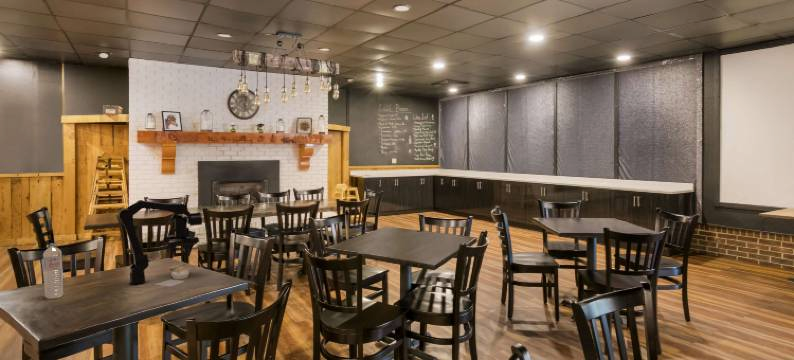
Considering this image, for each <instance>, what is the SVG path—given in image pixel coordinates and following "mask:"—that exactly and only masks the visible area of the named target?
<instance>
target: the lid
mask: <svg viewBox="0 0 794 360" xmlns="http://www.w3.org/2000/svg"><path fill="white" fill-rule="evenodd" d="M187 269H189V270H190V269H191V264H185V263H180V264H177V265H173V266H171V267H169V272H171V271H173V272H181V271H184V270H187Z"/></svg>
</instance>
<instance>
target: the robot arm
mask: <svg viewBox="0 0 794 360" xmlns="http://www.w3.org/2000/svg"><path fill="white" fill-rule="evenodd" d="M142 209H146V210H147V209H149V210H154V211H155V210H157V211H164V212H170V213H173V215H171V216H170V219H171V220H174V228H173V230H172V232H174V235H173V234H171V235H170V234H169V235H166V236H164V237H163V243H165V244H166V245H167V247H168V248H169V249H170V251H171V252H172V255H174V256H176V255H177V244H178V242H184V243H185V244H184V246H185V252H186V255H187V257H190V255H191V253H192V251H193V248H194V246H195V245H197V244H198V243H199V242H200V238H199V237H198V236H196V231H193V230H190V228H189V227H188V225H189V226H190V227H192V226H200V225H203V217H202V214H201V212H192V213H191V212H190V211H189V210H188V207H187V205H186V204H184V203H182V202H170V203H167V202H166V203H165V202H157V201H150V200H142V199H139V200H137V201H136V202H135V203H133V204H130V205H129V206H127V207H124V208H121V209H119V210H118V213H117V215H118V218H119V219H120V222H121V223H122V225H123V226H124V228H125V232H126V234H127V237H128V240H129V243H130V246H131V249H132V252H133V264H132V265H130V267H129V270H130V272H129V281H130V282H129V283H127V285H130V286H141V285H144V284H146V283H147V284H148V281H146V275H145V270H146V269H147V268H148V267H149V262H150V260H149V258H148V257H149V256H148V254H147V252H146V251H145V252H143V251H142V246H141V245H140V242H139V238H138V235H137V232H136V229H135V226H134V215H136V214H137V213H138V212H140V211H141V210H142ZM183 215H185V216H183Z"/></svg>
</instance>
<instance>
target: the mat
mask: <svg viewBox="0 0 794 360" xmlns="http://www.w3.org/2000/svg"><path fill="white" fill-rule="evenodd" d="M184 282H185V280H181V279H173V278H172V279H167V280H164V281H162V282H161V281H160V282H157V283H155V284H154V285H155V286H161V287H173V286H176V285H179V284H182V283H184Z"/></svg>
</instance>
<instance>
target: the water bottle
mask: <svg viewBox="0 0 794 360" xmlns="http://www.w3.org/2000/svg"><path fill="white" fill-rule="evenodd" d="M42 257H43V280H44V281H43V282H44V283H43V284H44V285H43V286H44V298H45V299H46V300H53V299H58V298H61V297H63V296H64V283H63V282H64V280H63V279H64V278H63V276H64V275H63V264H62V263H63V259H62V250H61V249H60V248H59V247H56V246H55V242H54V243H53V242H51V243H49V247H48V248H46V250H44V252H43V254H42Z"/></svg>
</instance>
